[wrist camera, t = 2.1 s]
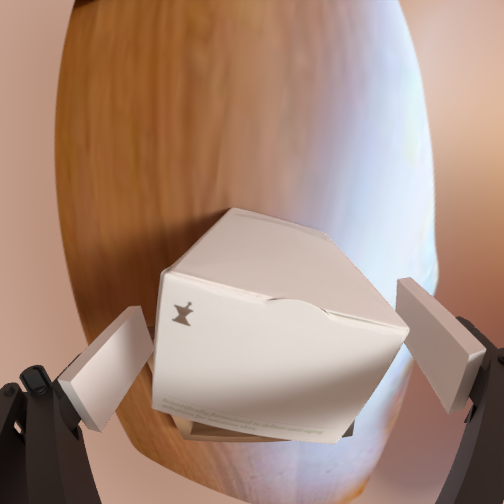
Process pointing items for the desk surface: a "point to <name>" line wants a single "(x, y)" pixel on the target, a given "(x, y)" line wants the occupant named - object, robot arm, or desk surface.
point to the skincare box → (270, 332)
